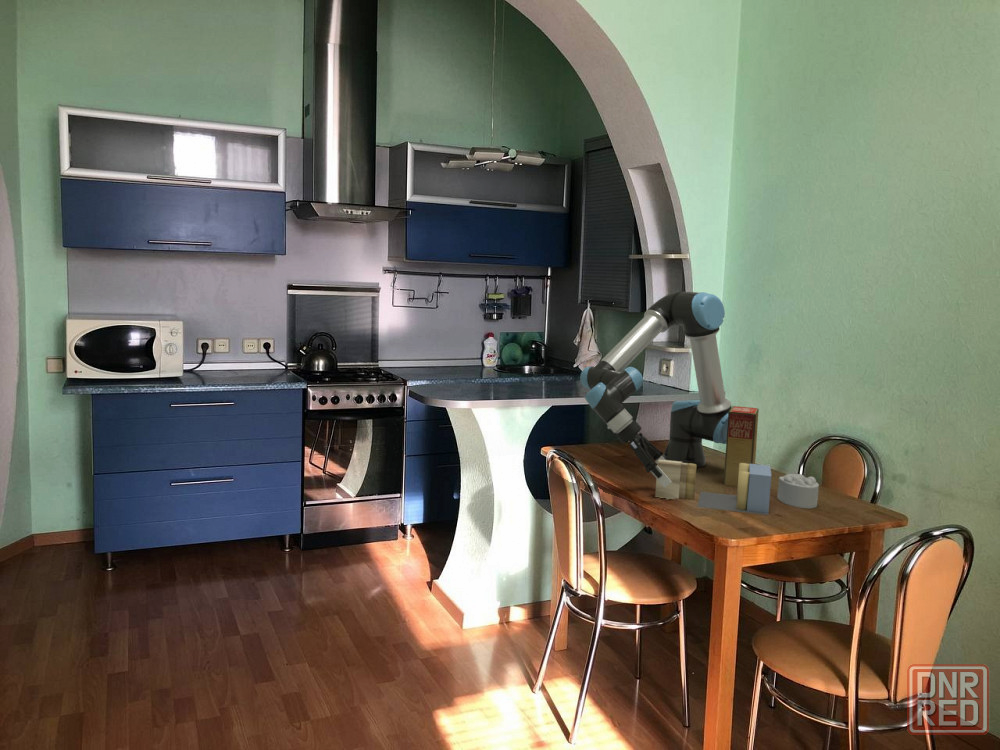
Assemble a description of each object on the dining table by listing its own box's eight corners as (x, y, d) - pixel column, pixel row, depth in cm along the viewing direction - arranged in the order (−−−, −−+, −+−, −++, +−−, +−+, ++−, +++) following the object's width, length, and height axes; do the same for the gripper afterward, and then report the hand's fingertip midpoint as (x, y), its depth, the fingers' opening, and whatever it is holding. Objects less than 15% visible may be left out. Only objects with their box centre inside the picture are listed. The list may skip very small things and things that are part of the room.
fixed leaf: (736, 497, 258) (739, 462, 257) (767, 500, 256) (770, 465, 254) (736, 509, 245) (739, 472, 243) (768, 513, 242) (771, 476, 241)
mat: (700, 493, 263) (700, 491, 263) (766, 500, 258) (766, 498, 257) (697, 508, 246) (697, 506, 246) (768, 516, 240) (768, 514, 240)
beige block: (656, 493, 260) (659, 459, 259) (694, 498, 257) (697, 463, 256) (655, 497, 256) (657, 462, 254) (693, 502, 252) (696, 466, 251)
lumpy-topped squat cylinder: (804, 498, 262) (806, 471, 261) (824, 510, 250) (827, 482, 248) (772, 498, 261) (775, 471, 260) (791, 510, 248) (794, 482, 247)
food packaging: (726, 477, 285) (731, 405, 282) (754, 480, 282) (760, 408, 279) (721, 486, 273) (727, 411, 270) (751, 490, 270) (758, 414, 267)
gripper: (621, 427, 271) (664, 477, 269) (608, 441, 247) (656, 497, 245) (638, 412, 269) (682, 463, 267) (628, 426, 245) (676, 481, 243)
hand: (670, 479), depth 256 cm, fingers open, 13 cm apart
